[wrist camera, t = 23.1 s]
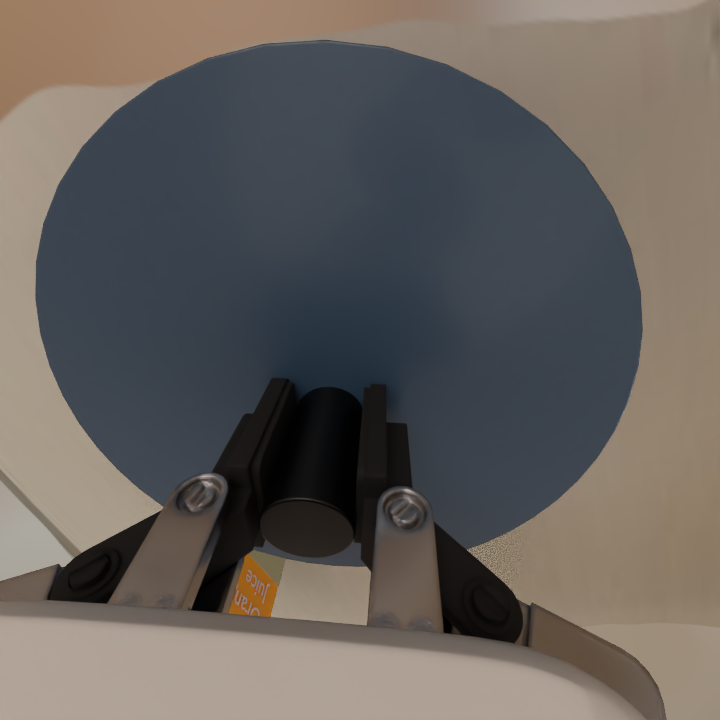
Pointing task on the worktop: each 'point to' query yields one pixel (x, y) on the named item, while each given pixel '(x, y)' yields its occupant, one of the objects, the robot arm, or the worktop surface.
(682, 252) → the worktop surface
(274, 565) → the orange juice
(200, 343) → the lid
